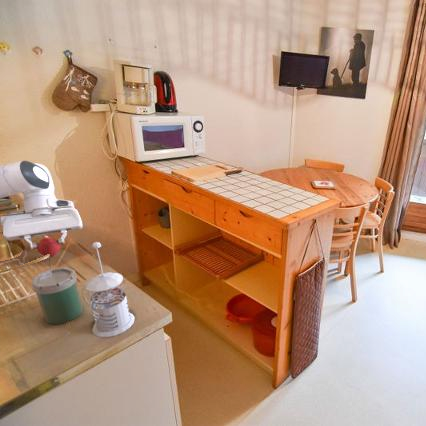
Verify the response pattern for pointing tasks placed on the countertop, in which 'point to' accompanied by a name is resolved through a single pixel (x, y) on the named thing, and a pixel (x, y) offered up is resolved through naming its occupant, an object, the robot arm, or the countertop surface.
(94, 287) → the french press
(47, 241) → the onion
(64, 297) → the jar
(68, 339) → the countertop surface
